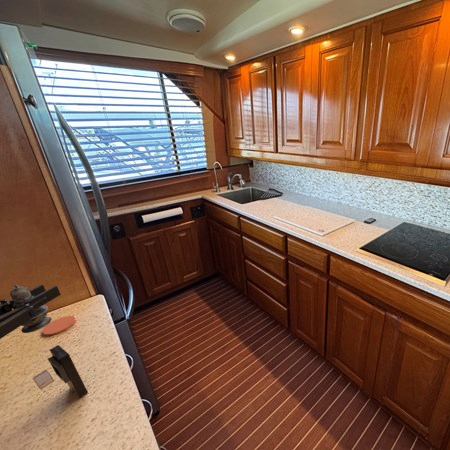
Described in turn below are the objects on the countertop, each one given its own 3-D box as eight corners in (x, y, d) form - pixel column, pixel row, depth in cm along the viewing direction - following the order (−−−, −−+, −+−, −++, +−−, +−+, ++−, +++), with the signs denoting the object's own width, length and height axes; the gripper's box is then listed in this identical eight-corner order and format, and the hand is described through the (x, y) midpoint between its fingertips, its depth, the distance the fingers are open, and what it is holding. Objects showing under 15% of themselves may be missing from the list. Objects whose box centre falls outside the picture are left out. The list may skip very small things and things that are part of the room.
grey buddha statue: (20, 324, 60) (-2, 284, 55) (53, 313, 63) (34, 274, 59) (18, 338, 56) (-7, 296, 51) (53, 324, 59) (33, 284, 55)
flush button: (49, 377, 51) (44, 367, 50) (55, 383, 49) (50, 373, 48) (36, 385, 49) (30, 375, 48) (42, 392, 48) (36, 382, 47)
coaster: (36, 333, 71) (35, 331, 70) (64, 315, 77) (64, 314, 77) (55, 337, 69) (54, 336, 69) (82, 318, 76) (82, 317, 76)
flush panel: (77, 382, 56) (58, 344, 52) (88, 392, 54) (68, 353, 50) (65, 391, 54) (44, 352, 50) (75, 401, 52) (54, 362, 48)
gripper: (-123, 382, 43) (30, 298, 65) (-51, 394, 41) (83, 303, 62) (-153, 352, 40) (18, 275, 62) (-77, 363, 38) (72, 279, 60)
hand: (50, 289), depth 62 cm, fingers closed on grey buddha statue, 4 cm apart
